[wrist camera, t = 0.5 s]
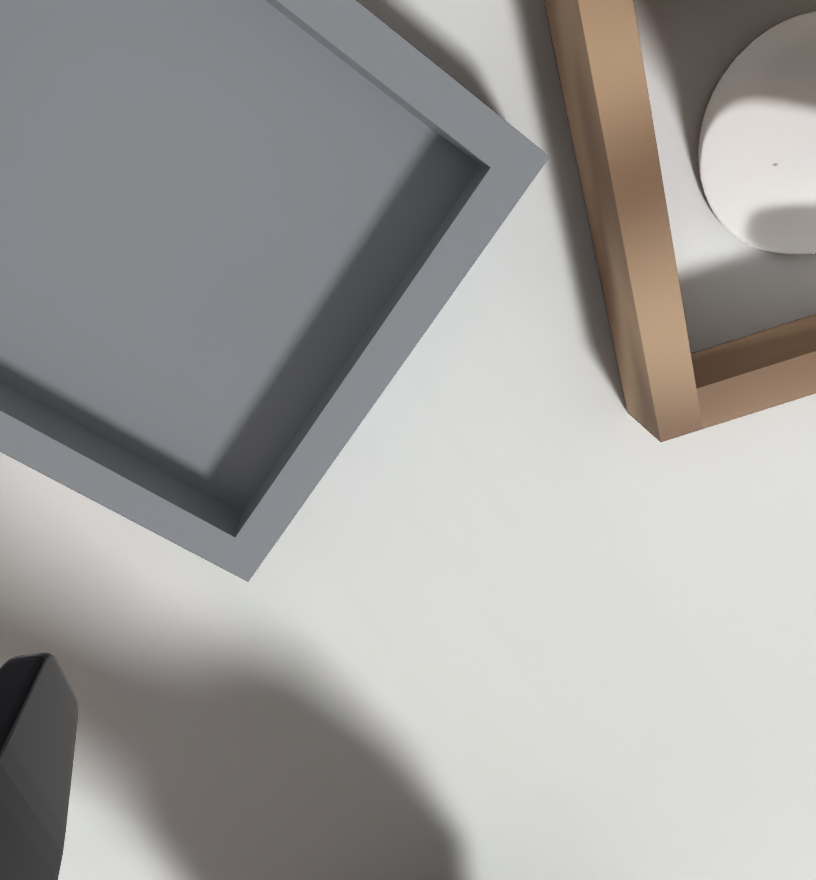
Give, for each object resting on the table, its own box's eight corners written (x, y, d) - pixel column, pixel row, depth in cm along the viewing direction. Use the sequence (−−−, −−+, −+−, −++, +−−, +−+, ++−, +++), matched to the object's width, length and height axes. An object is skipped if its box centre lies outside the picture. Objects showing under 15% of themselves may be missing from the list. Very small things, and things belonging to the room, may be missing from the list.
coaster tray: (524, 155, 20) (549, 156, 18) (255, 538, 23) (248, 581, 21) (40, -231, 16) (-7, -293, 14) (-199, 290, 20) (-270, 309, 17)
